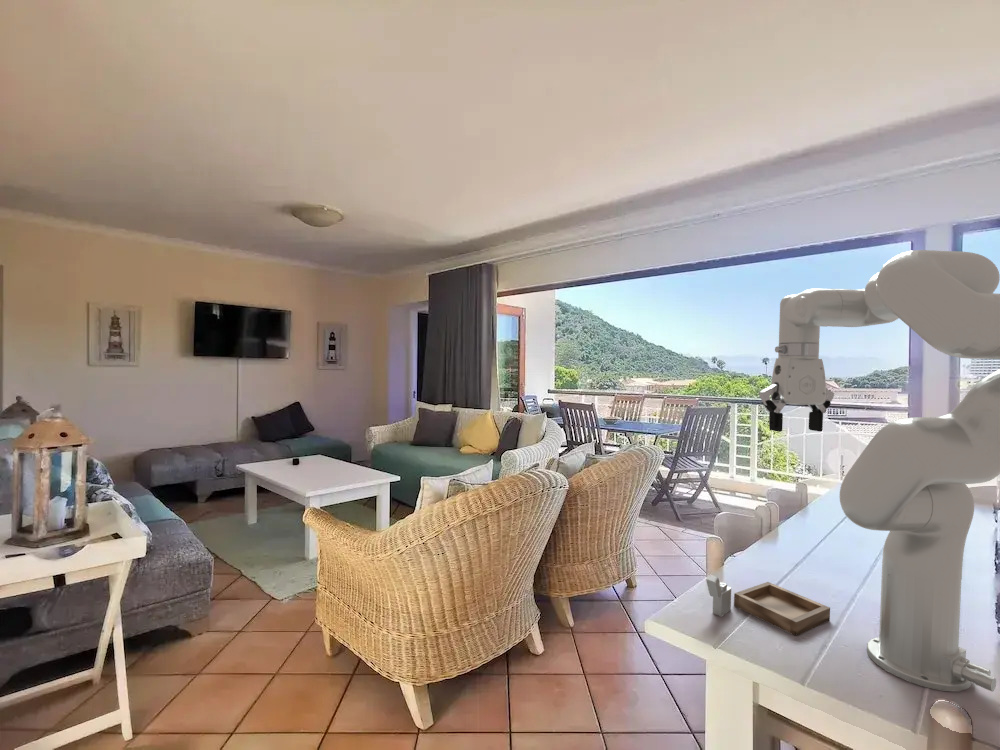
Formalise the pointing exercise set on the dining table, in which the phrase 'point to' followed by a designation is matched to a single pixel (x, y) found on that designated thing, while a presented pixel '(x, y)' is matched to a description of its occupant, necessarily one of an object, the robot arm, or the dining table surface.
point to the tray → (782, 608)
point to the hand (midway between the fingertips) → (795, 430)
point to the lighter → (719, 595)
